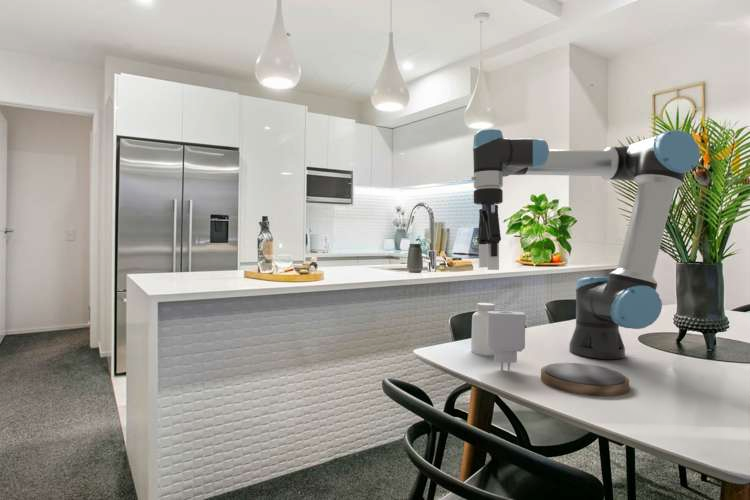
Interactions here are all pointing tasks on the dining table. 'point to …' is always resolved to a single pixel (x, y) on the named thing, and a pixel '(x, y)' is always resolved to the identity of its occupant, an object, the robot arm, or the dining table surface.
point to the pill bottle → (481, 329)
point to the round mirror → (585, 379)
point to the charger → (506, 335)
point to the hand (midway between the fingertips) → (488, 268)
